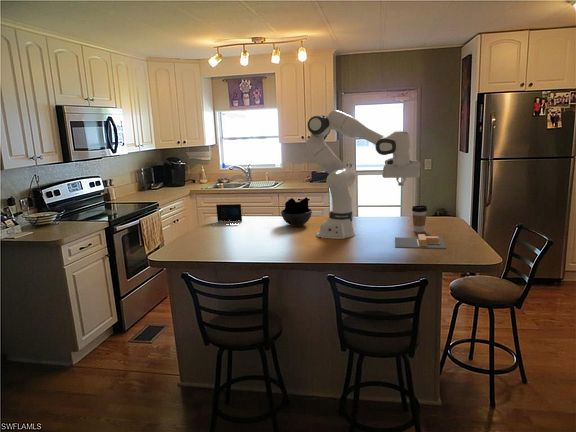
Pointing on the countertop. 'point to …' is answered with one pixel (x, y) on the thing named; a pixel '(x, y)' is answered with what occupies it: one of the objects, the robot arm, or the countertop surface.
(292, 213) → the coal bowl
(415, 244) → the t mat
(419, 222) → the coffee cup
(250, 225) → the countertop surface
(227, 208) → the laptop
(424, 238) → the t block
